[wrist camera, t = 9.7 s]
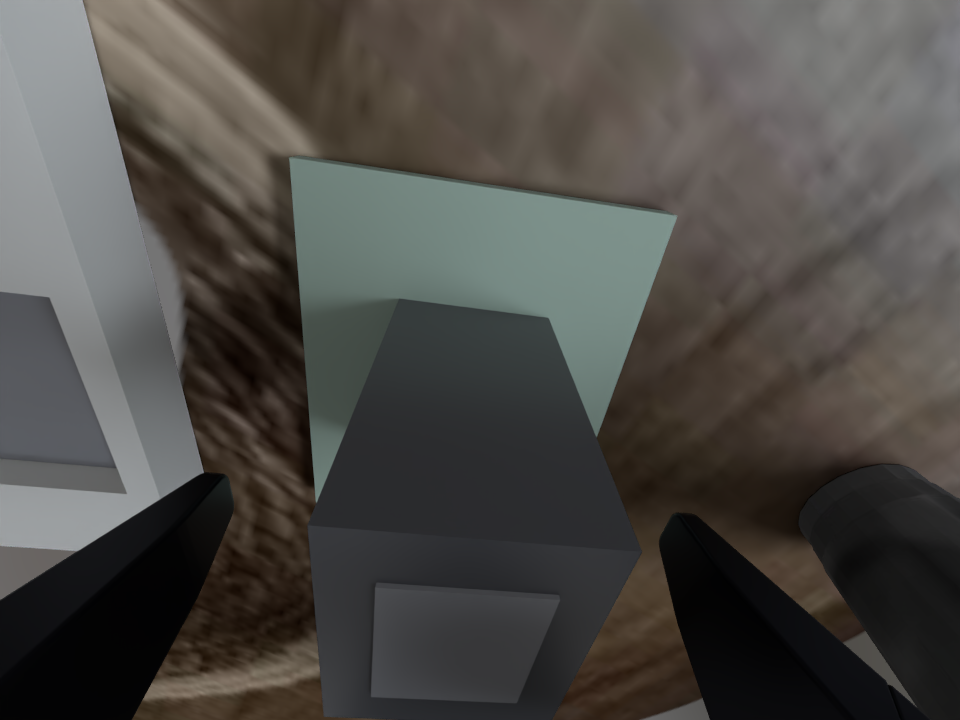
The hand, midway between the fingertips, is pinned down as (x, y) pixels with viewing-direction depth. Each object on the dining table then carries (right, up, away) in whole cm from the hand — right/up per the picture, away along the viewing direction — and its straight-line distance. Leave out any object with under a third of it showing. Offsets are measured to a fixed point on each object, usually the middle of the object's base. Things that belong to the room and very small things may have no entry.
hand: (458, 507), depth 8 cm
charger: (0, +2, +4) cm, 4 cm away
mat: (0, +3, +4) cm, 5 cm away
